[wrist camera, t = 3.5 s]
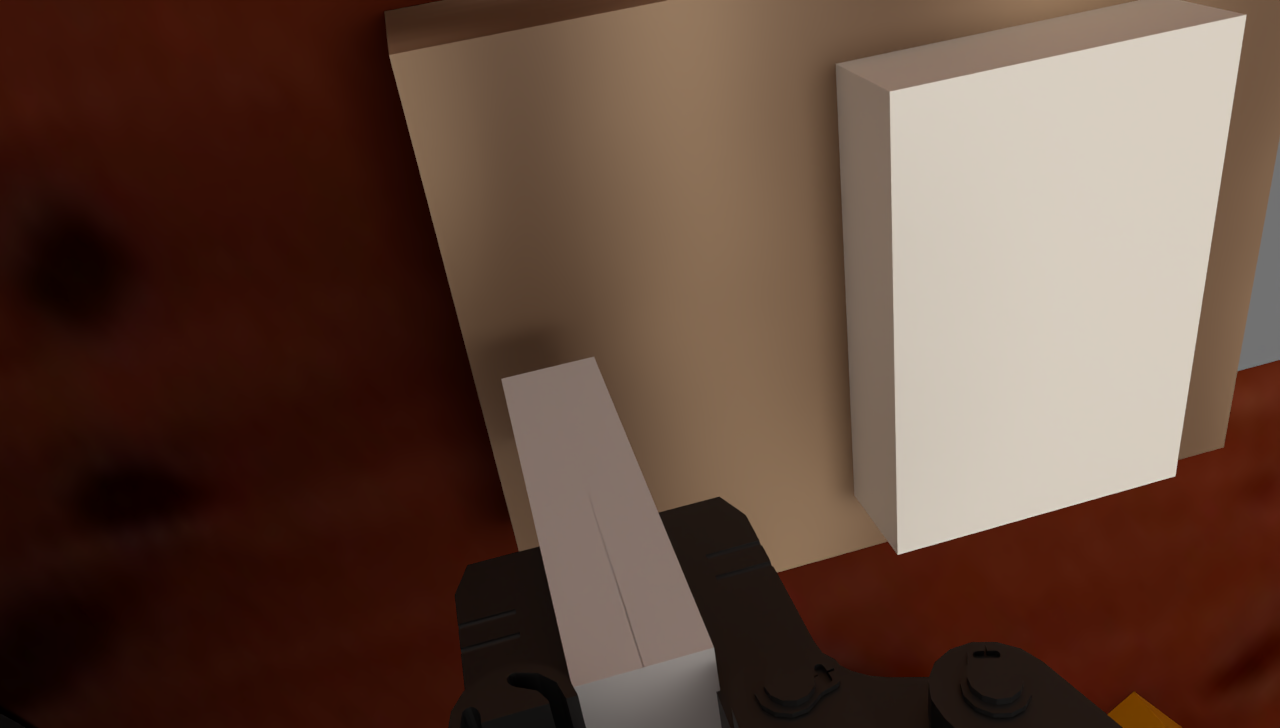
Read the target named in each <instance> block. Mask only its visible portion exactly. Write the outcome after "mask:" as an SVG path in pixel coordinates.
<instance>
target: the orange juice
mask: <svg viewBox="0 0 1280 728" xmlns="http://www.w3.org/2000/svg"><path fill="white" fill-rule="evenodd" d="M1107 715H1108V716H1109V717H1111V718H1112V719H1113V720H1114V721H1115V722H1117V723H1118V724H1119V725H1120V726H1122V727H1123V728H1182V727H1181V726H1179V725H1178V724H1177V723H1176V722H1174V721H1173V720H1172V719H1170V718H1169V717H1168V716H1166V715H1165V714H1164V713H1162V712H1161V711H1160V710H1158V709H1157V708H1156V707H1154V706H1153V705H1152V704H1150V703H1149V702H1148V701H1146V700H1145V699H1144V698H1142V697H1141V696H1140V695H1138V694H1137V693H1136V692H1133V693H1132V694H1130V695H1129V696H1128V697H1127V698H1126V699H1125V700H1124V701H1122V702H1121V703H1120V704H1119V705H1118V706H1117V707H1115V708H1114V709H1113V710H1112V711H1111V712H1110V713H1108V714H1107Z"/></svg>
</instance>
